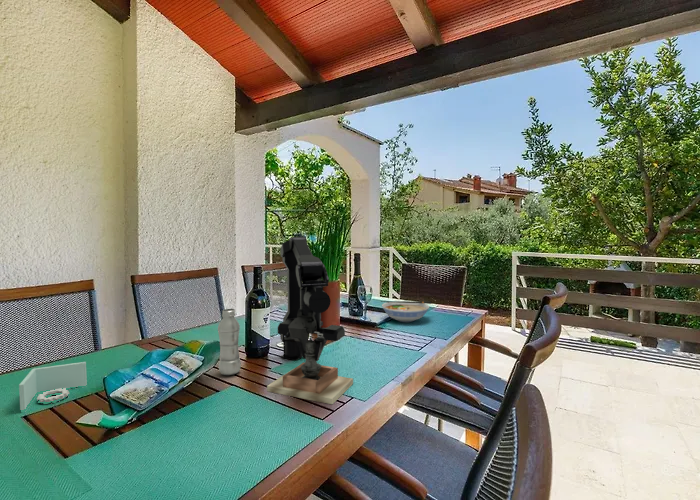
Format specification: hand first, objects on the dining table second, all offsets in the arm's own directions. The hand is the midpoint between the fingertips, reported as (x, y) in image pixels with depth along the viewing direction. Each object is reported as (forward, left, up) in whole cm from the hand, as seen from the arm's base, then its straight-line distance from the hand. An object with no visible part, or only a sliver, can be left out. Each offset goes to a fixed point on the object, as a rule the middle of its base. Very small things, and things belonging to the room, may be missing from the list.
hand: (310, 359), depth 108 cm
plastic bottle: (-28, -1, -8) cm, 29 cm away
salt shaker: (0, 0, -6) cm, 6 cm away
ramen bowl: (+5, +85, -8) cm, 85 cm away
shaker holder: (0, 0, -8) cm, 8 cm away
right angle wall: (-59, -32, -9) cm, 68 cm away
